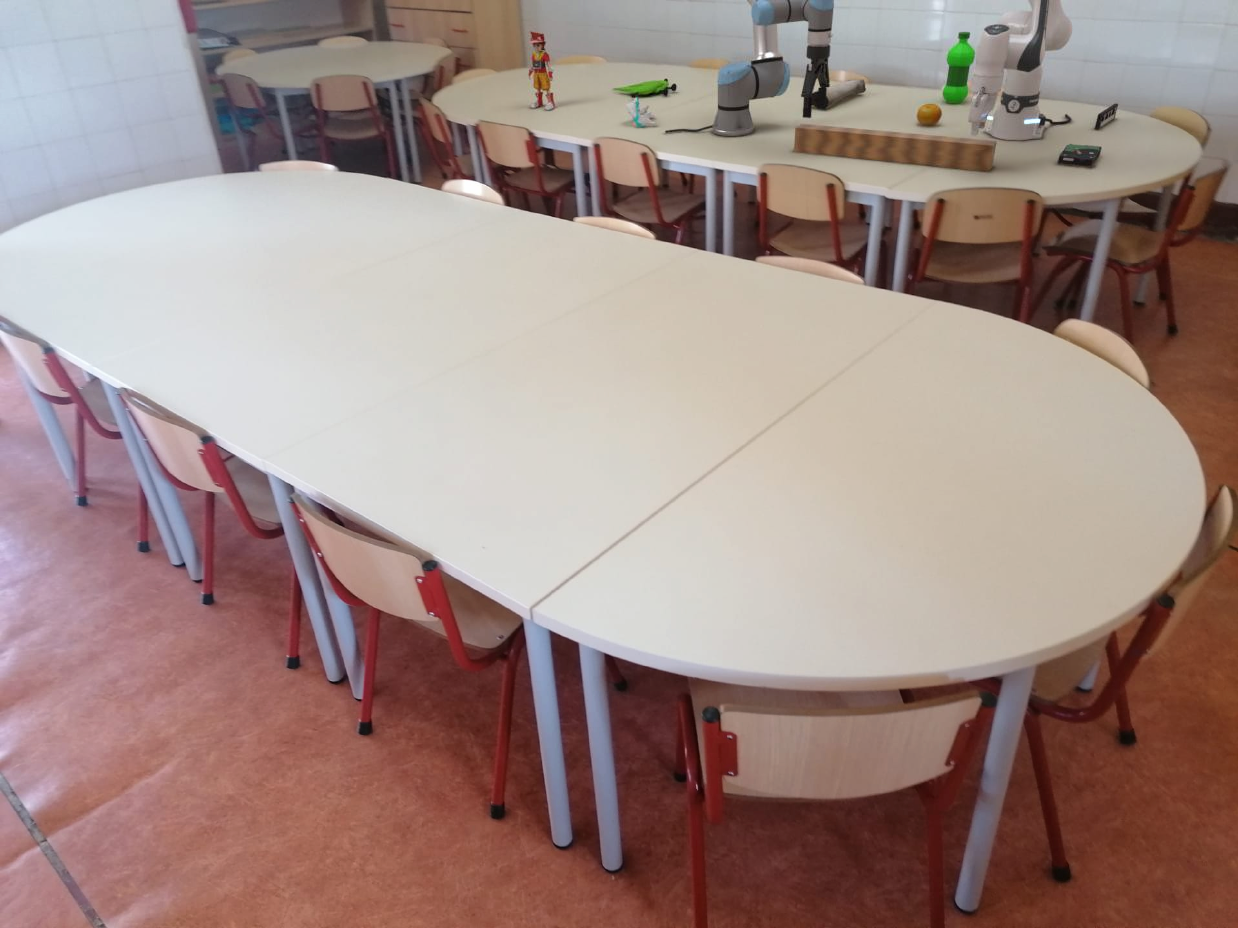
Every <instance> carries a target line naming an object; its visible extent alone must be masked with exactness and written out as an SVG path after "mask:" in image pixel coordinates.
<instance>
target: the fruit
mask: <svg viewBox="0 0 1238 928" xmlns="http://www.w3.org/2000/svg"><path fill="white" fill-rule="evenodd" d="M942 116H943V111H942V109H941V107H940V106H939V105H937V104H936V103H926V104H923V105H921V106H920V107H919V108H918V110H917V112H916V119H917V121H918V122H919V123H920V124H921V125H923V126H932V125H935V124H937V123H938V122H939V121H940V120H941V118H942Z"/></svg>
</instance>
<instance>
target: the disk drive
mask: <svg viewBox="0 0 1238 928" xmlns="http://www.w3.org/2000/svg"><path fill="white" fill-rule="evenodd" d="M1101 152H1102V146H1097V145H1088V144H1087V145H1086V144H1084V145H1083V144H1072V143H1069V144H1066V146H1065V147H1064V148H1063V150H1062V151H1061V152H1060V154H1059V155H1058V159H1057V164H1062V165H1070V166H1076V167H1077V166H1078V167H1093V166H1094V164H1095V163H1096V161H1097V160H1098V159H1099V157H1100V155H1101Z"/></svg>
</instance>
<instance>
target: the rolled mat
mask: <svg viewBox="0 0 1238 928" xmlns="http://www.w3.org/2000/svg"><path fill="white" fill-rule="evenodd" d="M826 88H827V92H826V105H825V108H817V101H818V90H816V91H813V92H812V96H811V97H812V107H815V109H818V110H824V111H825V110H827V109H828V108H830V107H831V106H832V105H834V104H836V103H837V102H838V101H840V100H842V99H843V98H845V97H847V96H849V95H860V94H863V93H865V92H866V91H867V88H866V82H865V80H864V79H862V78H853V79H849V80H845V81H842V82H839V83H836V84H835V85H830V87H826Z"/></svg>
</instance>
